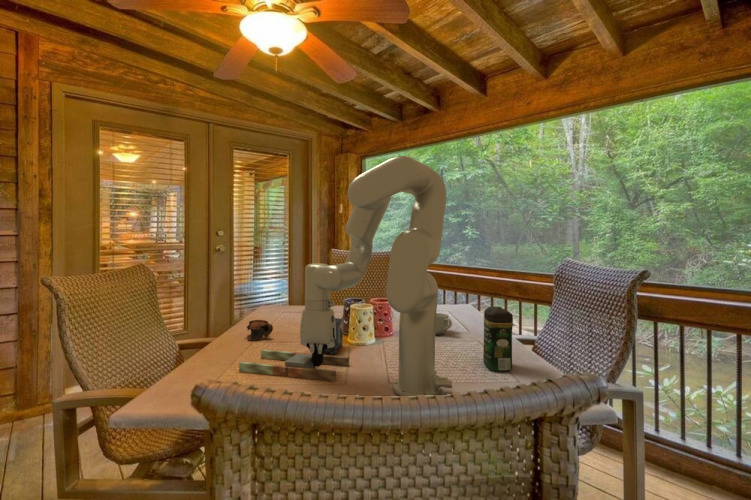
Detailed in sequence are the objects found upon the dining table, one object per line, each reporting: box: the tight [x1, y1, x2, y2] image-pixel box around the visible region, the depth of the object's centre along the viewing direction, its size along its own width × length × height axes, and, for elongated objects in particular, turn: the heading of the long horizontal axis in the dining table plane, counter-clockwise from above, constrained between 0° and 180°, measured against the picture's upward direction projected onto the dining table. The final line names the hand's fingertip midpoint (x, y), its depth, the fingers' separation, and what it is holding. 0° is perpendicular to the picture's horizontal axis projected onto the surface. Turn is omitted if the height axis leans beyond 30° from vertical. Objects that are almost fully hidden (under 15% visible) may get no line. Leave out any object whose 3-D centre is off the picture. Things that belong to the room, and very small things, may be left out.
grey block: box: [284, 352, 315, 369], centre depth 113 cm, size 6×8×4 cm
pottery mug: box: [246, 319, 274, 342], centre depth 148 cm, size 12×10×8 cm
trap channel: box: [238, 349, 350, 382], centre depth 115 cm, size 30×13×2 cm, turn 76°
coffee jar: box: [482, 306, 514, 373], centre depth 116 cm, size 10×8×19 cm
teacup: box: [435, 312, 453, 336], centre depth 155 cm, size 14×11×8 cm
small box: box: [317, 317, 344, 356], centre depth 133 cm, size 11×6×10 cm, turn 168°
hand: (317, 365), depth 113 cm, fingers closed
